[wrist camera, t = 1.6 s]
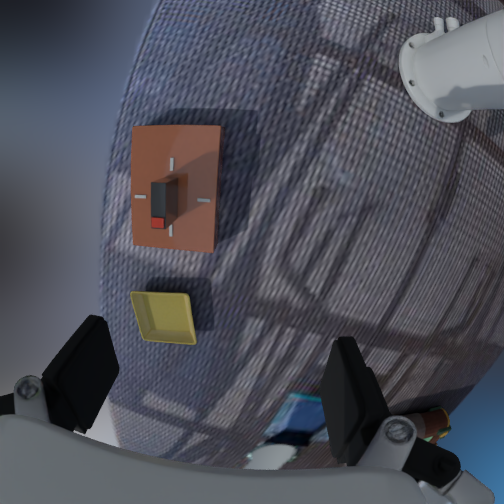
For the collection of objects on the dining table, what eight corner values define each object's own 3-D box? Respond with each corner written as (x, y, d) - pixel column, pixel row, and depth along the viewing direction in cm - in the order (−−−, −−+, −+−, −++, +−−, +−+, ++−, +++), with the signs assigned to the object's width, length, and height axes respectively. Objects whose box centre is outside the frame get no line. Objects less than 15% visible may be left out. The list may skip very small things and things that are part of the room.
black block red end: (164, 176, 29) (149, 182, 25) (178, 177, 29) (165, 183, 25) (164, 217, 30) (150, 229, 26) (177, 218, 30) (165, 230, 26)
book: (319, 459, 55) (323, 491, 45) (343, 416, 47) (351, 456, 38) (408, 446, 54) (417, 473, 45) (444, 400, 46) (459, 431, 37)
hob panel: (143, 126, 29) (131, 126, 26) (225, 127, 29) (221, 125, 26) (142, 237, 35) (132, 245, 32) (217, 244, 34) (213, 253, 31)
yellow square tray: (200, 336, 40) (197, 345, 38) (146, 332, 40) (142, 340, 39) (192, 285, 37) (189, 293, 35) (134, 283, 37) (129, 291, 35)
